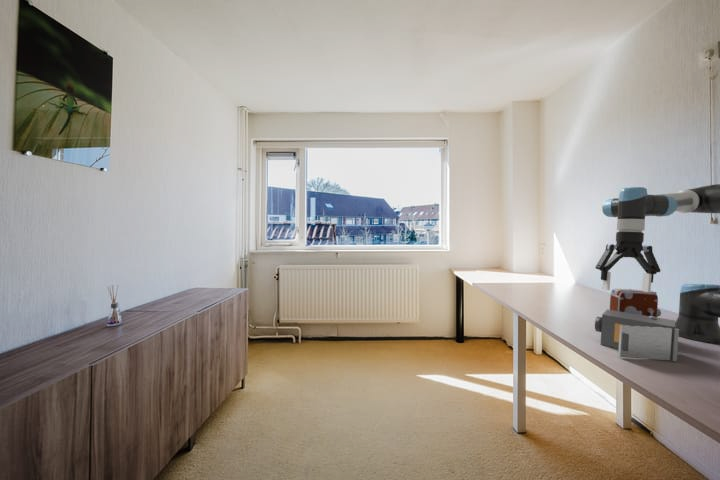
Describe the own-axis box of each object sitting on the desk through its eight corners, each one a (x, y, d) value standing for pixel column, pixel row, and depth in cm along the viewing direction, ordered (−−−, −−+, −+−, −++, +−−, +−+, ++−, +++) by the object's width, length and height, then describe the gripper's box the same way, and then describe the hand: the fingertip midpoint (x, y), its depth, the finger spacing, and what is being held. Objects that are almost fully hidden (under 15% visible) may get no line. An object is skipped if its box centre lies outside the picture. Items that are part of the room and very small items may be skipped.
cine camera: (673, 342, 128) (676, 294, 127) (618, 338, 132) (621, 290, 131) (656, 335, 137) (659, 289, 136) (605, 331, 141) (608, 286, 140)
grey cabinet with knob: (597, 336, 133) (599, 306, 133) (676, 353, 117) (679, 318, 116) (591, 343, 124) (593, 311, 124) (676, 362, 108) (679, 325, 107)
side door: (618, 356, 111) (620, 325, 110) (667, 358, 109) (669, 327, 109) (622, 358, 109) (624, 326, 108) (672, 361, 108) (674, 329, 107)
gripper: (658, 232, 115) (654, 290, 116) (586, 230, 117) (582, 286, 118) (677, 232, 107) (672, 294, 108) (599, 230, 110) (595, 290, 111)
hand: (625, 290), depth 113 cm, fingers open, 13 cm apart
